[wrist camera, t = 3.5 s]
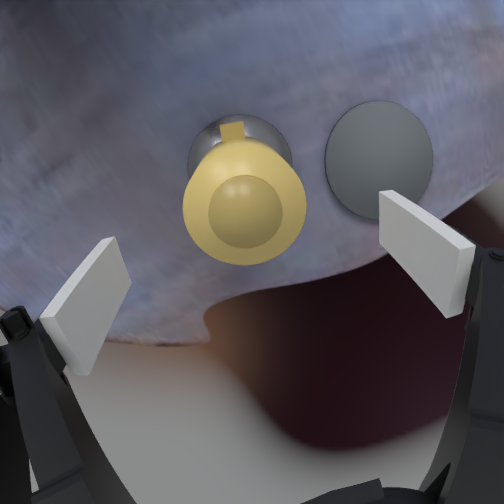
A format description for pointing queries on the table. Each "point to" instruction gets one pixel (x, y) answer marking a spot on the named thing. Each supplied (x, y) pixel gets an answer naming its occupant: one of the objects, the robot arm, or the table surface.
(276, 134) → the metal disc with peg
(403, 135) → the rubber mat
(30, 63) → the table surface
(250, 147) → the cap
